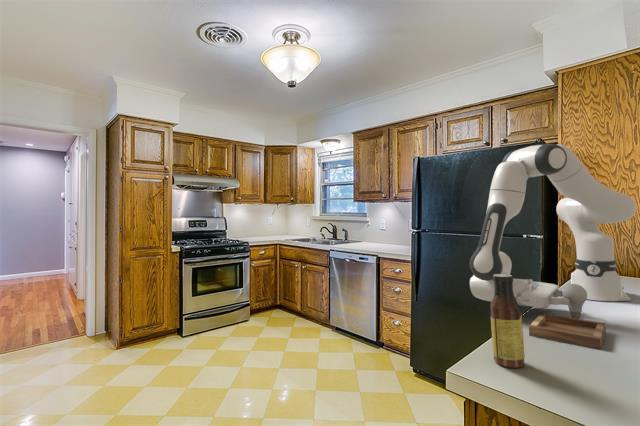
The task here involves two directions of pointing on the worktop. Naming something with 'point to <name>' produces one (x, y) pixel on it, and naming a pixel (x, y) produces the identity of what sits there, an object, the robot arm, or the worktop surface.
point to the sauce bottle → (506, 324)
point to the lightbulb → (575, 299)
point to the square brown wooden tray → (568, 330)
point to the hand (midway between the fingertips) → (572, 298)
